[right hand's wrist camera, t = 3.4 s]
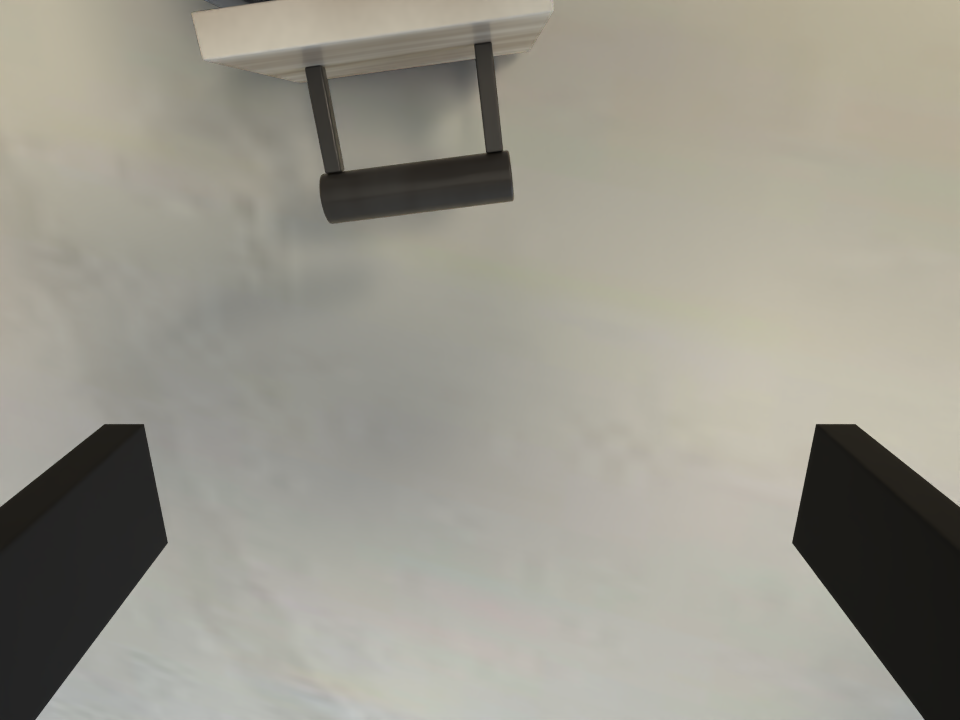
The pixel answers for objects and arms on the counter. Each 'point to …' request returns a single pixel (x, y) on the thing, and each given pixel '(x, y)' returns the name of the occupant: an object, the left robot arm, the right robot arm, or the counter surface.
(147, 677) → the counter surface
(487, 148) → the drawer
